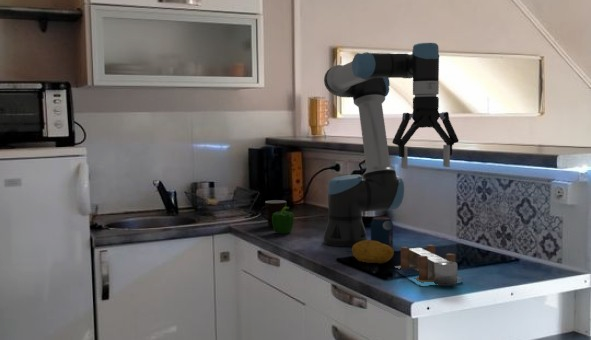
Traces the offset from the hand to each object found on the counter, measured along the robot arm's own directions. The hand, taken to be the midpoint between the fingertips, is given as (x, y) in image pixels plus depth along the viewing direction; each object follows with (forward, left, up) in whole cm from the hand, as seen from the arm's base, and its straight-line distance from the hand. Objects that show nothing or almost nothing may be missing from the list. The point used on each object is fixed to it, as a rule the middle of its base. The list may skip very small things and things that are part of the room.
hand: (425, 167), depth 192 cm
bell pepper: (-59, -31, -29) cm, 73 cm away
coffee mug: (-74, -32, -29) cm, 86 cm away
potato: (-3, -16, -29) cm, 33 cm away
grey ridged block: (+19, -7, -28) cm, 34 cm away
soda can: (-13, -9, -29) cm, 33 cm away
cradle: (+16, -7, -29) cm, 34 cm away
